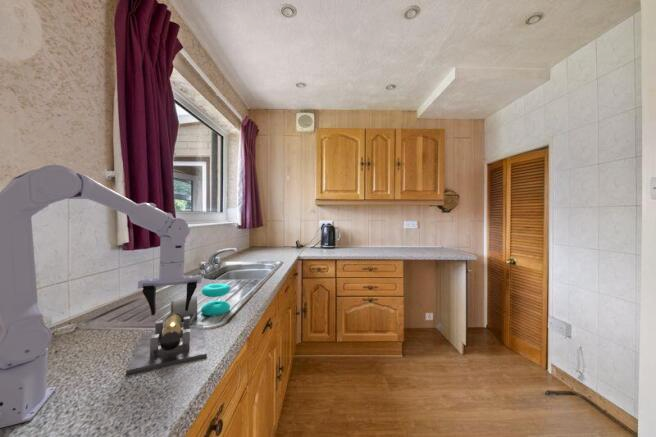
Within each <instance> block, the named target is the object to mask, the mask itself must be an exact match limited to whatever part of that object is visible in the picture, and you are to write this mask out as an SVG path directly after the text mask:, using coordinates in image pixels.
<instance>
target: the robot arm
mask: <svg viewBox="0 0 656 437" xmlns="http://www.w3.org/2000/svg"><path fill="white" fill-rule="evenodd" d="M66 199H68V200H70V199H71V200H89V201H92V202H95V203H97V204H100V205H102V206H104V207H107V208H109V209H112V210H115V211H118V212H120V213H122V214H125V215H127V216H128V218H129V220H130V222H131V223H132V224H133V225H136V226H139V227H141V228H143V229H146V230H149V231H150V232H153V233H155V234H156V235H157V236H158V237H159V238H160V243H159V244H160V245H159V246H160V247H159V273H158V274H159V275H158V277H154V278H153V277H151V278H143V279H138V281H137V289H142V294H143V295H144V298H146V301H147V303H148V305H149V309H150V315H151V316H155V314H156V310H157V307H156V295H157V294H156V293H157V287H167V286H178V285H186V296H185V298H186V305H185V311H188V307H189V303H190V300H191V298H192V296H194V293H195V291H196V289H197V287H198V285H197V284H202V275H201V274H200V275H198V274H197V275H185V272H184V271H185V253H186V251H185V248H186V243H187V242H186V239H187V237H188V236H189V235H190V231H191V228H190V227H189V224H188V223H187V221H186V220H185V219H183V218H179V217H177V218H176V217H174V216H173V215H174V214H173V213H171V212H166V211H163V210H161V209H159V208H158V207H157V204H155V203H153V202H149V203H147V202H141V203H136V202H134V201H133V200H132V199H129V198H127V197H125V196H124V195H121V194H120V193H118V192H116V191H114V190H113V189H111V188H109V187H107V186H105V185H103V184H101V183H99V182H98V181H96V180H94V179H93V178H91V177H89V176H88V175H85V174H83V173H80V172H76V171H74V170H72V168H69V167H66V166H64V165H59V164H49V165H44V166H42V167H39V168H37V169H36V168H35V169H31V170H29V171H26V172H24V173H21V174H19V175H16V176H14V177H13V178H12V179H11V180H10V181H9V183H8V184H6V185H5V187H3V188H2V189H1V191H0V429H2V428H6V427H10V426H13V425H17V424H21V423H26V422H29V421H31V420H32V419H33V418H34V417H35V415H36V414H37V413H38V412H39V411H40V410H41V408H42V407H43V406H44V405H45V403H47V401H48V399H50V397H51V396H52V395H53V393H54V392H55V391H56V389H57V386H51V387H47V378H48V376H47V374H48V359H49V358H48V356H49V355H48V354H49V353H48V352H49V346H50V345H51V343H52V341H53V332H52V330H51V329H50V328H49V327H48V326H47V325H46V323H45V321H44V315H43V311H42V309H41V306H40V304H39V299H38V288H37V287H38V286H37V277H36V276H37V274H36V261H35V250H34V248H35V247H34V238H33V236H34V235H33V234H34V233H33V225H32V222H33V221H32V217H33V216H34V215H36V214H38V213H39V212H41V211H42V210H44V209H45V208H47V207H48V206H49V205H51V204H54V203H57V202H60V201H64V200H66Z"/></svg>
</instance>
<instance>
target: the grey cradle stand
mask: <svg viewBox="0 0 656 437" xmlns="http://www.w3.org/2000/svg"><path fill="white" fill-rule="evenodd" d="M183 322H184V325H183V326H181V332H180V343H179V345H178V346H177V347H176V348H174V349H172V350H164V349H162V348H161V346H160V341H161V338H162V335H163V331H164V320H163V319H160V320H156V322H155V327H154V328H155V329H154V330H155V331H152V332H144V333H141V335H140V337H139V340H138V342H137V345H136V347H135V349H134V350H133V351H134V352H133V353H132V356H131V358H130V360H129V363H128V365H127V367H126V370H125V376H127V375H132V374H138V373H142V372H147V371H151V370H156V369H160V368H165V367H169V366H174V365H178V364H183V363H187V362H192V361H196V360H198V361H199V360H202V359H206V358H207V356H208V355H207V344H206V338H205V330H204V324H203V323H201V324H195V325H191V323H190V316H188V317H184V320H183Z"/></svg>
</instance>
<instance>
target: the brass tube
mask: <svg viewBox="0 0 656 437" xmlns="http://www.w3.org/2000/svg"><path fill="white" fill-rule="evenodd" d="M181 322H183V320H182V317H181V315H180V314H178V313H172V314H171V313H170V314H168V315H167V317H166V318H165V322H164V325H163V330H164V331H163V335H162V338H161V341H160V346H161V348H162V349H164V350H172V349H174V348H176V347H177V346H178V345H179V343H180V332H181V327H182V326H181Z"/></svg>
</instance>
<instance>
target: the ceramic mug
mask: <svg viewBox="0 0 656 437" xmlns="http://www.w3.org/2000/svg"><path fill="white" fill-rule="evenodd" d="M185 305H186V297H182V298H176V299H174V300H172V301H171V302H170V314H172V313H178V314H180V315H181V317H182V322H181V325H184V317H188V316H190V324H192V323H193V322H194V320H195V319H198V296H197V295H192V298H191V300H190V303H189V307H188V311H185Z"/></svg>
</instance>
